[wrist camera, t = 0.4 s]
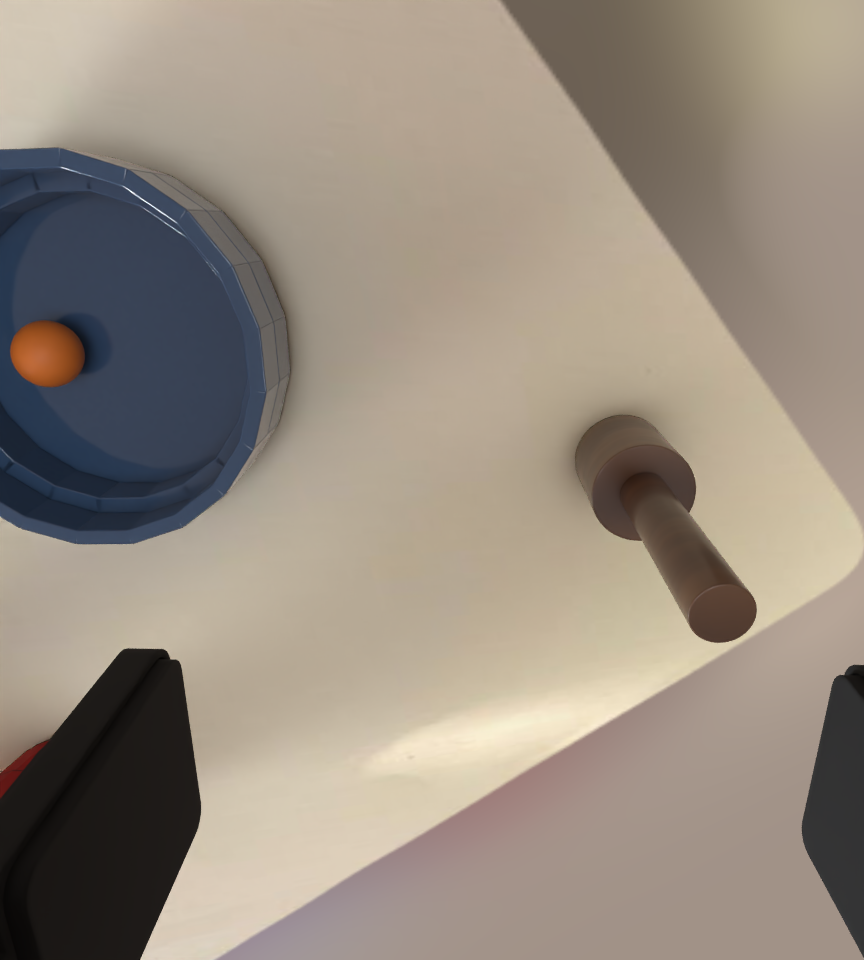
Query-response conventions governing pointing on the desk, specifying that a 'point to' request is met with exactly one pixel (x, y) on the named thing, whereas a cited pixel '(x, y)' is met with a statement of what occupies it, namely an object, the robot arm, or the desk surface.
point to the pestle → (662, 521)
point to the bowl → (130, 349)
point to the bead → (47, 353)
